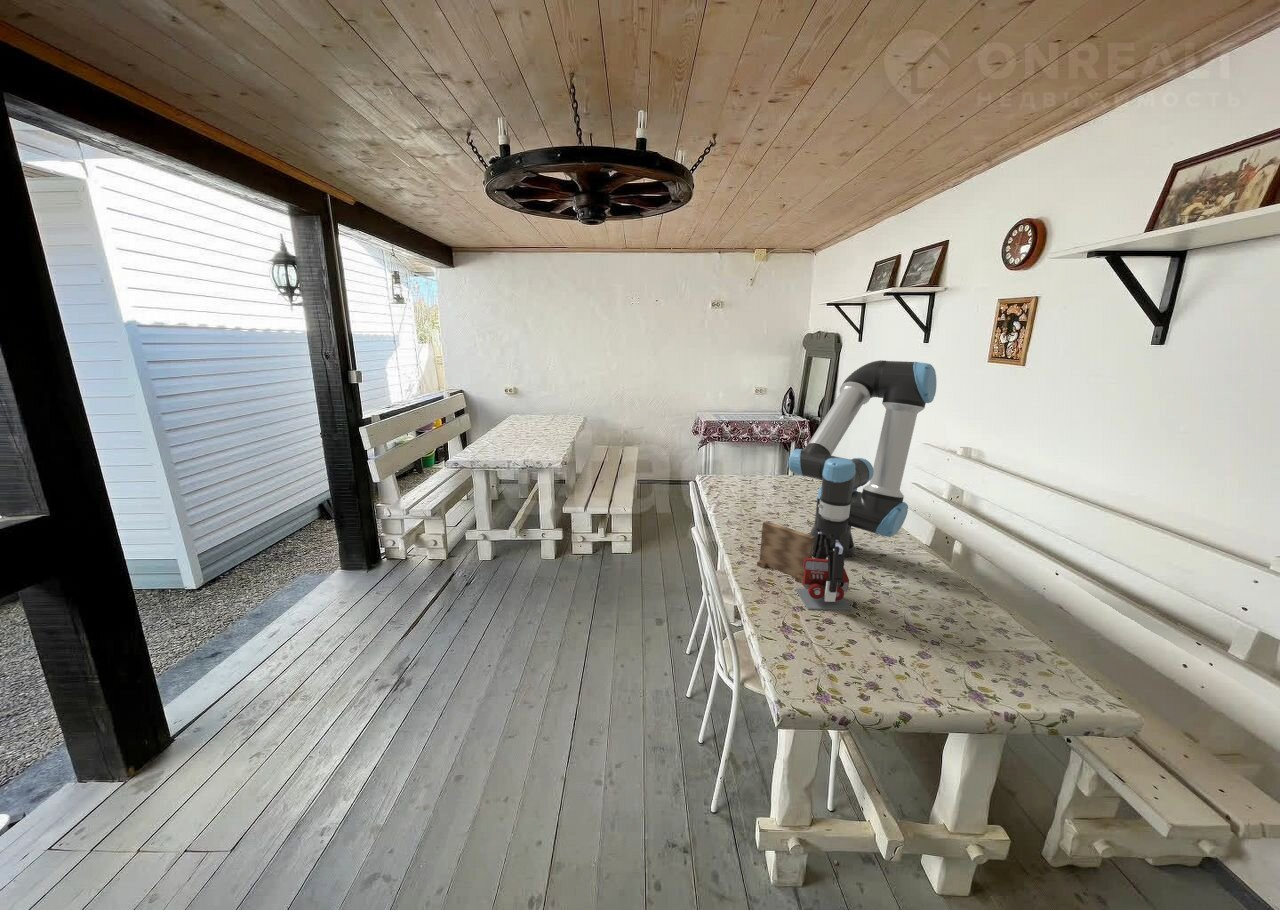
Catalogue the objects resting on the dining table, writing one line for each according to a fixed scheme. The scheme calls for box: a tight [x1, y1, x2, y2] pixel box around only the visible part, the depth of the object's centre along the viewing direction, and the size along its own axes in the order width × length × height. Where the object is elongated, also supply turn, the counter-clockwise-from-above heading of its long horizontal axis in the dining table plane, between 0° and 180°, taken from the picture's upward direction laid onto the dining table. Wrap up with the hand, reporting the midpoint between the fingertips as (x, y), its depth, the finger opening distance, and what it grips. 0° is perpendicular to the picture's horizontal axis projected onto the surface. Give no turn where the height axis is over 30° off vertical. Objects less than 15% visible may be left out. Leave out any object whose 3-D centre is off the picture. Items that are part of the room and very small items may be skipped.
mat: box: [794, 587, 853, 611], centre depth 130 cm, size 12×10×1 cm
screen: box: [756, 520, 815, 584], centre depth 144 cm, size 16×6×14 cm, turn 46°
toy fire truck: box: [802, 557, 850, 601], centre depth 128 cm, size 7×12×10 cm, turn 82°
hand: (823, 592), depth 129 cm, fingers closed on toy fire truck, 7 cm apart
